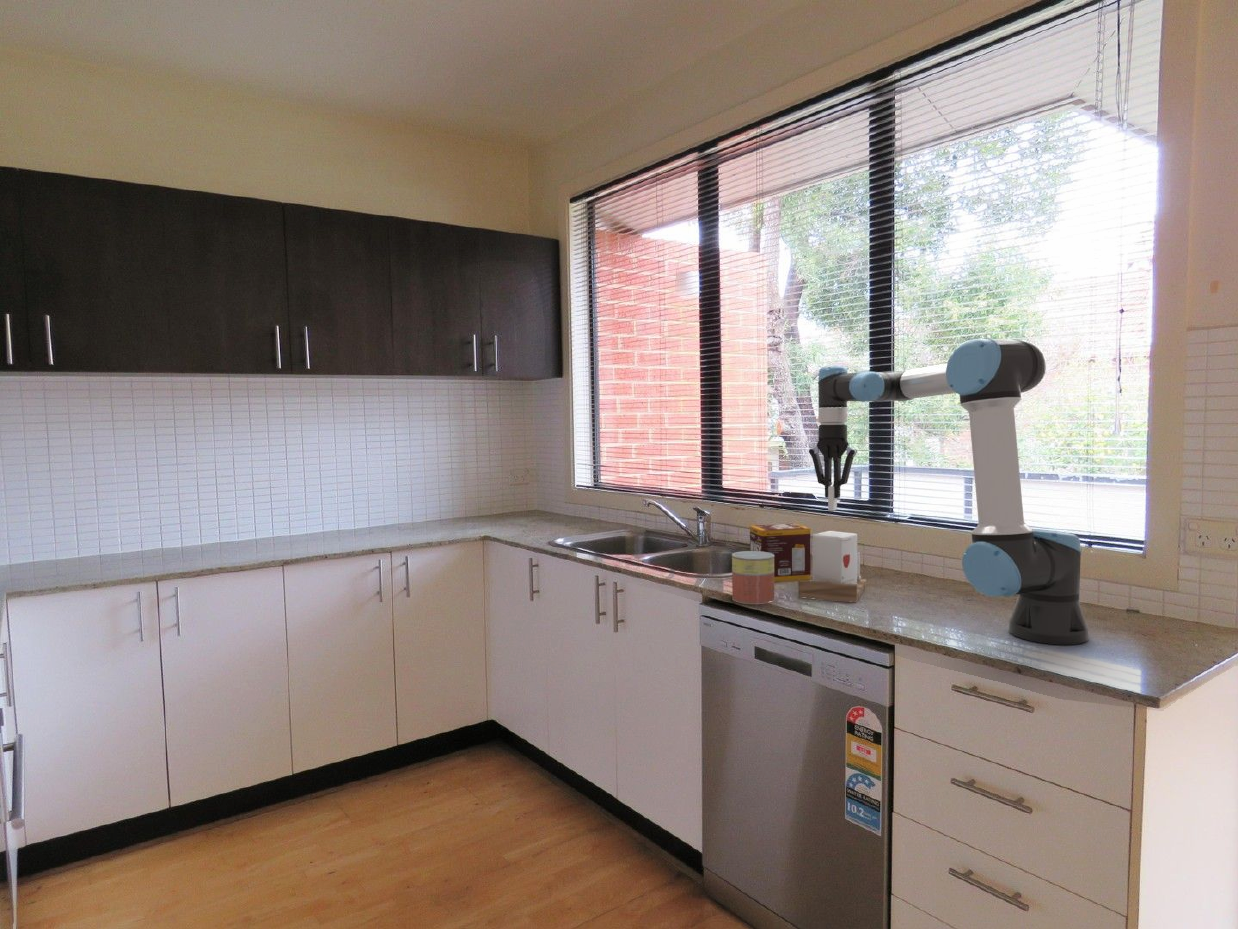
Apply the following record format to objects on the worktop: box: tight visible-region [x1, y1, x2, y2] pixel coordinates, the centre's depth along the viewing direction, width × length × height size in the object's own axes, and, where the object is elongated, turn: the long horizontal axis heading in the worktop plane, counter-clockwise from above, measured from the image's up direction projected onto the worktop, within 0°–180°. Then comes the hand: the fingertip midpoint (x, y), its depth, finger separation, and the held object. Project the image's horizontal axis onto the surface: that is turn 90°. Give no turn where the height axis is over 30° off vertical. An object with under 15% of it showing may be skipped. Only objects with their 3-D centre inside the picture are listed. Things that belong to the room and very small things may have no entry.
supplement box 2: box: [812, 530, 858, 584], centre depth 207 cm, size 9×9×15 cm
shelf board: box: [797, 575, 867, 603], centre depth 210 cm, size 22×15×4 cm
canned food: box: [731, 550, 775, 605], centre depth 203 cm, size 11×11×12 cm
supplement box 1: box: [749, 522, 812, 583], centre depth 228 cm, size 10×15×16 cm
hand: (832, 509), depth 208 cm, fingers closed
